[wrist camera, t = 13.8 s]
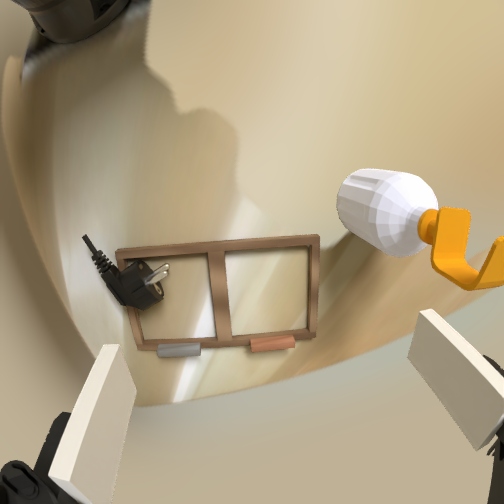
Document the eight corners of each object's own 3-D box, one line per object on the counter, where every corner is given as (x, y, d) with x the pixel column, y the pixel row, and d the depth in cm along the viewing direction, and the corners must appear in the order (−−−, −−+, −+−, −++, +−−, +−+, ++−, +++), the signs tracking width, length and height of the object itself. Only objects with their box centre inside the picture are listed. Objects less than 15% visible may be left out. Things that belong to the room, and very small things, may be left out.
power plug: (70, 245, 30) (130, 326, 34) (119, 207, 30) (180, 295, 34) (87, 234, 35) (138, 305, 39) (130, 201, 35) (182, 278, 39)
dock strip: (117, 249, 37) (110, 256, 34) (317, 234, 38) (324, 240, 36) (139, 345, 41) (134, 357, 38) (313, 332, 43) (319, 344, 40)
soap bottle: (396, 171, 37) (546, 202, 13) (390, 235, 39) (521, 313, 16) (337, 165, 36) (484, 186, 13) (332, 234, 39) (453, 331, 15)
